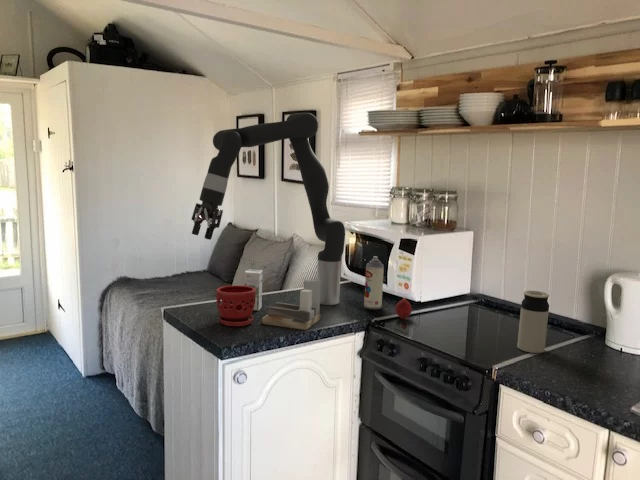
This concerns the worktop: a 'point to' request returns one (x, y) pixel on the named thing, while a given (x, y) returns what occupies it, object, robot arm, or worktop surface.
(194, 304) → the worktop surface
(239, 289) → the plant pot
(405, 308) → the onion
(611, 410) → the worktop surface
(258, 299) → the syrup box
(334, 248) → the robot arm
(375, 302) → the aerosol can
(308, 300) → the switch knob
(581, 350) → the worktop surface
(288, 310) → the switch plate
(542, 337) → the travel mug
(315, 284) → the skincare box
